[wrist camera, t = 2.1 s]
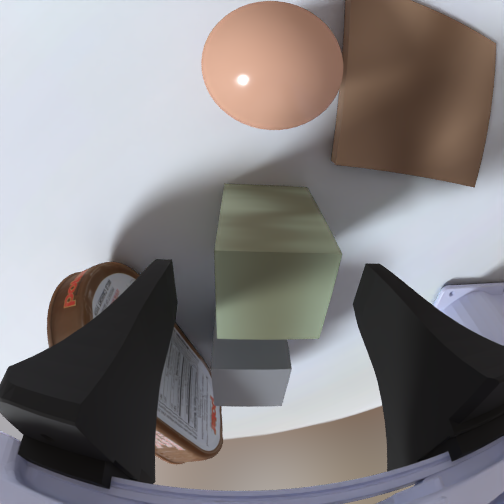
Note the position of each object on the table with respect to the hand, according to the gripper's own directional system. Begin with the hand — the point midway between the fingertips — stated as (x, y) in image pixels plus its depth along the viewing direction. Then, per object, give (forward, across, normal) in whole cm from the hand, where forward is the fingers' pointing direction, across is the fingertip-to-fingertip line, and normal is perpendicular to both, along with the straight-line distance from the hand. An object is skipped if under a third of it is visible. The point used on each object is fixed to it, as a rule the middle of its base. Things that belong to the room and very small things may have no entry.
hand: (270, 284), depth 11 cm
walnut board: (+5, -8, -8) cm, 12 cm away
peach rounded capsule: (+5, 0, -7) cm, 9 cm away
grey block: (+5, 0, +8) cm, 9 cm away
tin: (+5, +6, +8) cm, 11 cm away
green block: (+5, 0, 0) cm, 5 cm away
